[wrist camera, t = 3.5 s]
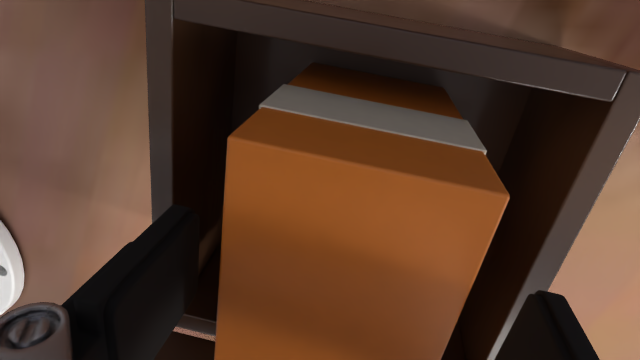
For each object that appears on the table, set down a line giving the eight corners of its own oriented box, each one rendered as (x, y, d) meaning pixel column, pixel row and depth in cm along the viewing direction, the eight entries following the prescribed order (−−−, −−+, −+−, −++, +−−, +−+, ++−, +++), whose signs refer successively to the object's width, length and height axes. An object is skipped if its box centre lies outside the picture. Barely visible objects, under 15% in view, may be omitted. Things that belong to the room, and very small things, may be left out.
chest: (227, -14, 18) (143, -19, 12) (562, 47, 17) (663, 77, 11) (215, 237, 24) (154, 322, 18) (460, 294, 23) (487, 404, 17)
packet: (310, 60, 18) (223, 133, 8) (446, 86, 17) (515, 194, 8) (286, 228, 22) (209, 406, 12) (396, 253, 21) (402, 457, 12)
